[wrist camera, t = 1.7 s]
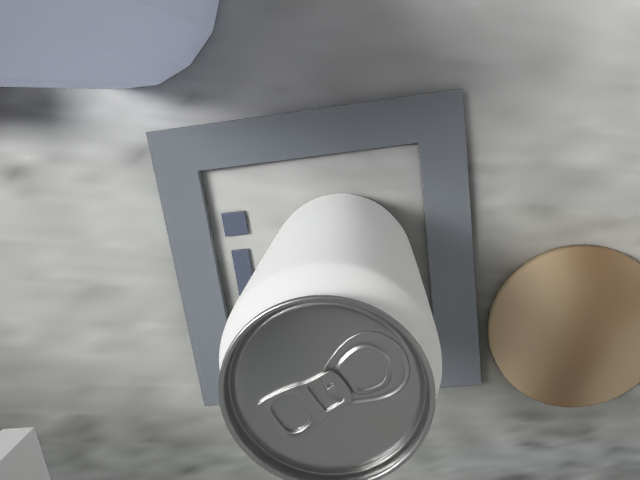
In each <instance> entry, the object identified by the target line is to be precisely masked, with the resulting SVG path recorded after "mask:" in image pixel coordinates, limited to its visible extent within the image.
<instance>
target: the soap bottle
mask: <svg viewBox="0 0 640 480" xmlns="http://www.w3.org/2000/svg"><path fill="white" fill-rule="evenodd" d="M218 5H219V0H0V87H37V88H89V89H127V88H135V87H144V86H152V85H159V84H161V83H162V82H164V81H165V80H167V79H169V78H170V77H172V76H173V75H175V74H177V73H178V72H180V71H181V70H183V69H185V68H186V67H188V66H189V65H191V63H192V62H193V60H194V59H195V57H196V56H197V54H198V53H199V52H200V50H201V49H202V47H203V46H204V44H205V43H206V41H207V40H208V38H209V37H210V35H211V34H212V32H213V28H214V23H215V19H216V14H217V9H218Z"/></svg>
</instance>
